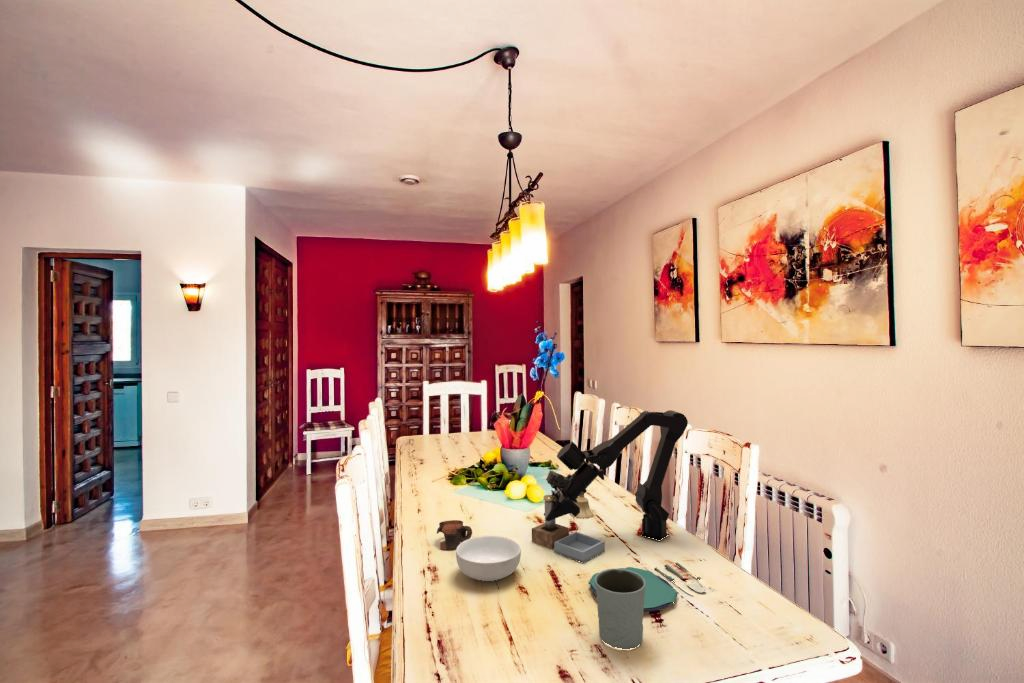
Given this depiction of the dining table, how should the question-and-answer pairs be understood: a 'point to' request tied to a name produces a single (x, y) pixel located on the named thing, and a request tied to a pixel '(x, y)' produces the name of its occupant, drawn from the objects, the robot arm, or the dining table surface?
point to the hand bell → (583, 507)
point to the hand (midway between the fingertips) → (545, 518)
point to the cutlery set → (652, 588)
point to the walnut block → (548, 535)
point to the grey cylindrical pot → (620, 607)
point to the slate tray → (579, 547)
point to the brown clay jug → (453, 533)
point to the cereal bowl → (488, 557)
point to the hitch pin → (549, 505)
